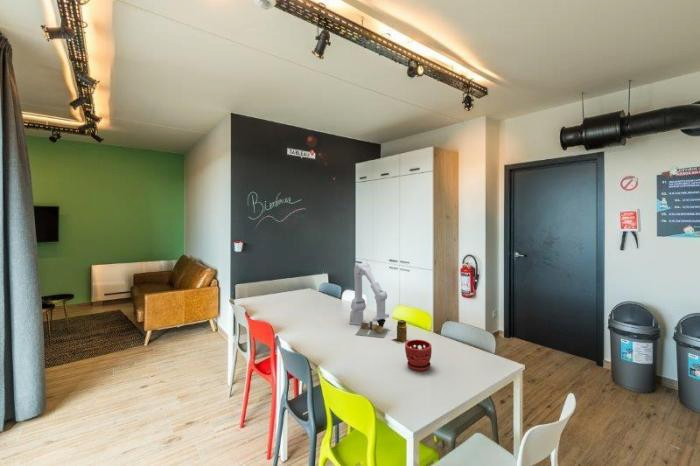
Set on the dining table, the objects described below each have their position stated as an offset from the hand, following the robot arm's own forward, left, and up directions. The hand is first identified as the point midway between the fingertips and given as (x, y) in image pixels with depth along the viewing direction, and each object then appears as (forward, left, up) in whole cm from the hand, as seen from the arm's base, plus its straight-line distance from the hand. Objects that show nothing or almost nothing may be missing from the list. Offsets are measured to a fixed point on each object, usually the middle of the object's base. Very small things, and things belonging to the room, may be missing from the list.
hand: (381, 329), depth 214 cm
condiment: (+14, -10, -2) cm, 18 cm away
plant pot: (+28, -43, -2) cm, 52 cm away
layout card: (-6, -1, -2) cm, 6 cm away
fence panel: (-2, 0, -1) cm, 3 cm away
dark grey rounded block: (-11, +3, -1) cm, 11 cm away
